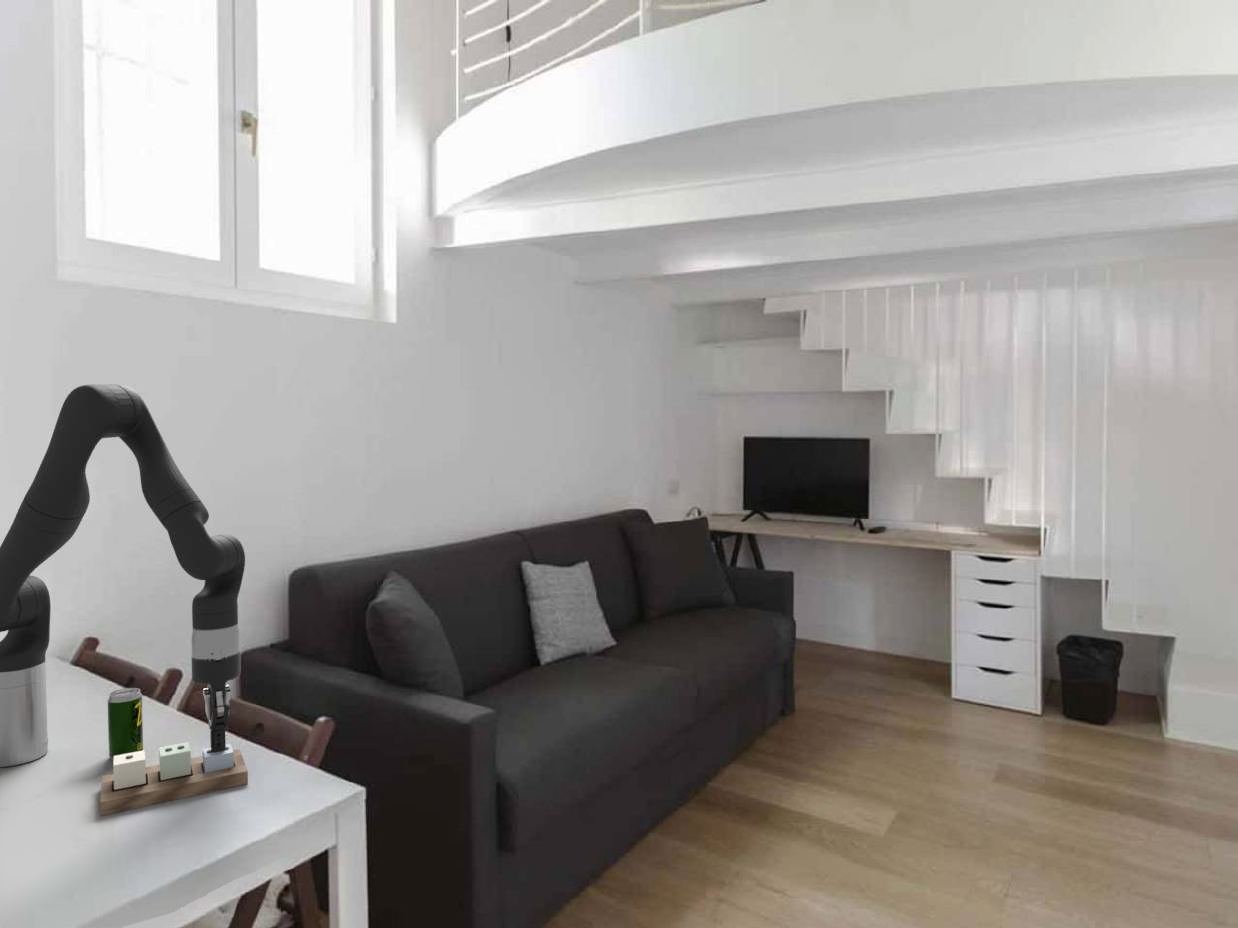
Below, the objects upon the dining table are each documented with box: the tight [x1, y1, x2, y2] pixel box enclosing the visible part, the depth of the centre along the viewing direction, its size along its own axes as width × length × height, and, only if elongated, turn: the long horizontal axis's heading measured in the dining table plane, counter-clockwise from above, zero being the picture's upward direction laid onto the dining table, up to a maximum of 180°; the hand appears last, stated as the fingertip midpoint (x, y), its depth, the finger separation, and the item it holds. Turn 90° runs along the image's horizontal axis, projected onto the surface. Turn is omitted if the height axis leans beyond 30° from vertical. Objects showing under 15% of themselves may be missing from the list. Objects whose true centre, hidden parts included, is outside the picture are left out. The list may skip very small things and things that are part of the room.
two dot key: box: [158, 741, 192, 780], centre depth 132 cm, size 4×4×4 cm
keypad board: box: [99, 748, 249, 817], centre depth 132 cm, size 21×11×2 cm, turn 123°
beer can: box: [107, 687, 144, 762], centre depth 144 cm, size 5×5×12 cm
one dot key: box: [112, 749, 147, 790], centre depth 128 cm, size 4×4×4 cm
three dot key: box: [202, 743, 234, 773], centre depth 135 cm, size 4×4×4 cm
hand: (218, 749), depth 135 cm, fingers closed
